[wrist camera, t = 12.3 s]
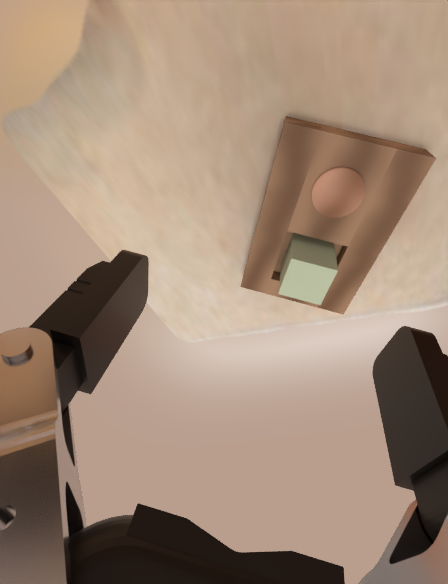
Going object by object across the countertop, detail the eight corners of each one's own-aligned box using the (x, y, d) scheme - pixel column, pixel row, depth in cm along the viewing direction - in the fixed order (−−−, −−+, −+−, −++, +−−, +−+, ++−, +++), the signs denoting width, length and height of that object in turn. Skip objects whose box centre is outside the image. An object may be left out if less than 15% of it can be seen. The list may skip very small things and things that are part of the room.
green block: (281, 265, 40) (278, 293, 36) (293, 232, 37) (291, 258, 33) (318, 275, 40) (320, 305, 35) (333, 242, 37) (338, 270, 32)
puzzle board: (244, 274, 44) (239, 289, 41) (286, 116, 31) (284, 123, 28) (341, 299, 43) (343, 317, 40) (426, 149, 30) (438, 160, 27)
